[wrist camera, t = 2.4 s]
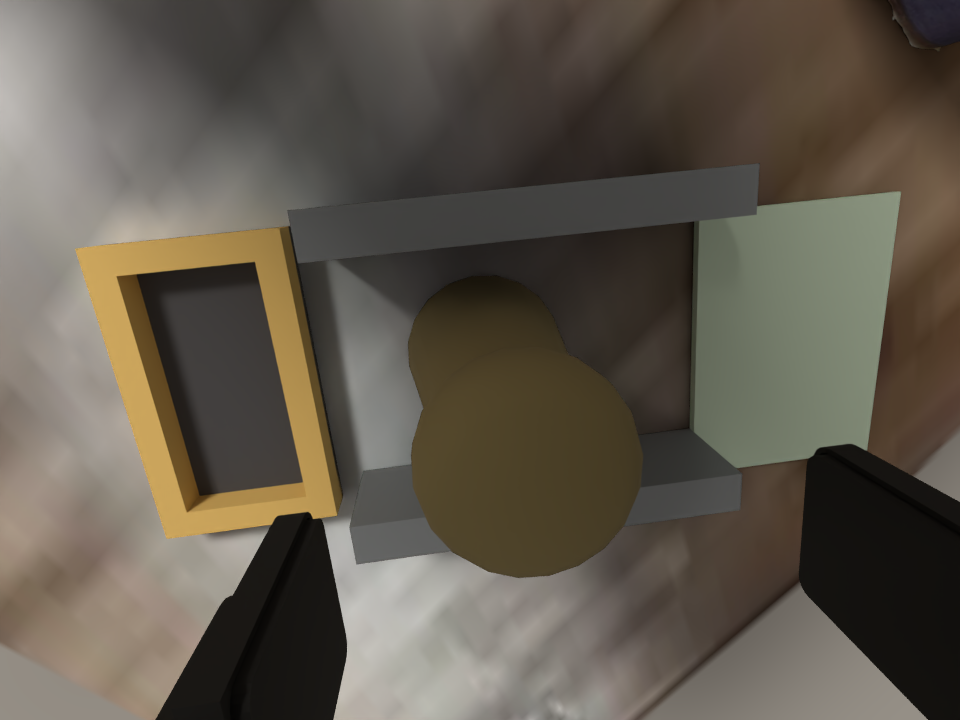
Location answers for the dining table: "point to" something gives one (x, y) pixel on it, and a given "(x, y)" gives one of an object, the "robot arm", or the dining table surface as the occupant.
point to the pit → (217, 376)
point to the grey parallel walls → (517, 216)
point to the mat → (789, 326)
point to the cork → (515, 434)
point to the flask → (928, 21)
